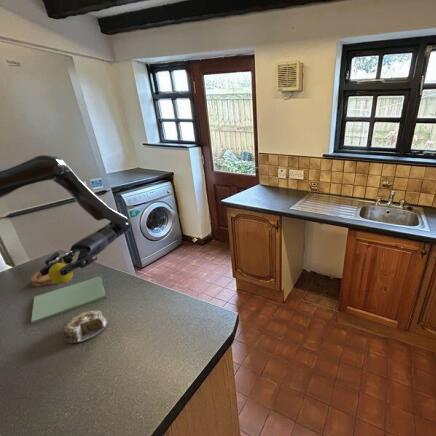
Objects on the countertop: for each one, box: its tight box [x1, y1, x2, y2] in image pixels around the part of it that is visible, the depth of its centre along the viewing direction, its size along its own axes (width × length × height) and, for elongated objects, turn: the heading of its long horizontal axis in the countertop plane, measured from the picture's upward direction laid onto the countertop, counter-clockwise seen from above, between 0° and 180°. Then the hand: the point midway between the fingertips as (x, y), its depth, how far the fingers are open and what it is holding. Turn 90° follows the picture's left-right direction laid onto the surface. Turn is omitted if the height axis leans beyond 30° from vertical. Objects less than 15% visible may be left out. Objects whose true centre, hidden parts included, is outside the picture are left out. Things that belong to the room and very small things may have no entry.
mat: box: [30, 275, 107, 324], centre depth 82 cm, size 18×14×1 cm
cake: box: [62, 310, 108, 344], centre depth 69 cm, size 10×10×5 cm
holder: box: [30, 270, 55, 287], centre depth 92 cm, size 11×11×2 cm
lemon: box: [49, 262, 74, 285], centre depth 78 cm, size 6×6×8 cm
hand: (52, 273), depth 75 cm, fingers closed on lemon, 5 cm apart
